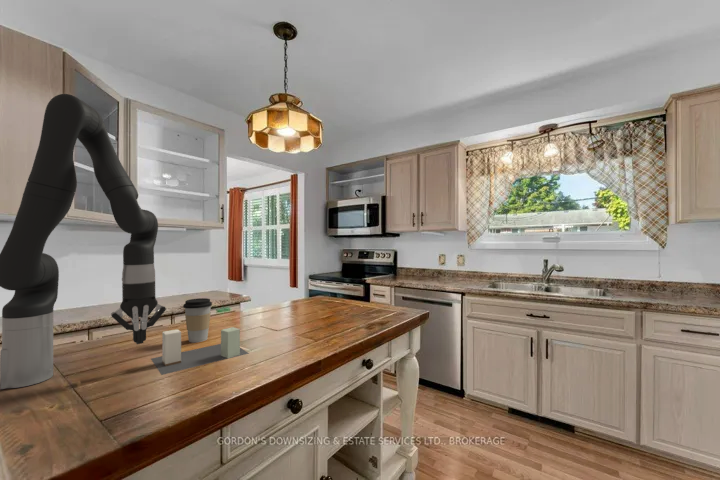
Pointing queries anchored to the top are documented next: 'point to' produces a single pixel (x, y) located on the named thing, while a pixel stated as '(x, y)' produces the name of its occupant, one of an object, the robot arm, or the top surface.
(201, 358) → the mat
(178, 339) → the cream block
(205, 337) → the coffee cup
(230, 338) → the sage block
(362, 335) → the top surface
